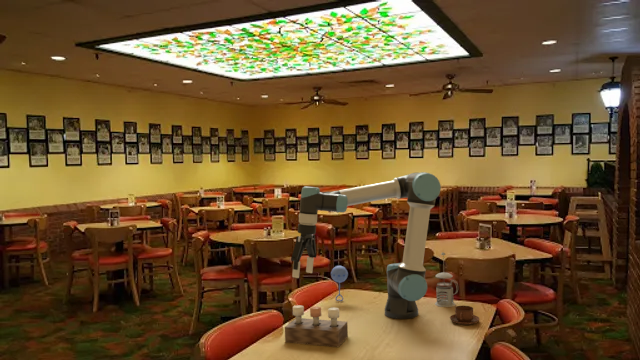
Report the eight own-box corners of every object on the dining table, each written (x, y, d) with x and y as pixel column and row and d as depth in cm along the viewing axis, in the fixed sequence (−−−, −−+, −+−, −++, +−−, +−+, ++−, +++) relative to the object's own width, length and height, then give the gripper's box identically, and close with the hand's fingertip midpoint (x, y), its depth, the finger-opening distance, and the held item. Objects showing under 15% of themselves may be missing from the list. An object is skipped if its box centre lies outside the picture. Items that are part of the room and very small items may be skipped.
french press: (440, 300, 242) (438, 250, 242) (462, 303, 235) (460, 251, 234) (430, 305, 235) (429, 253, 234) (453, 308, 227) (452, 255, 227)
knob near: (341, 325, 192) (340, 307, 192) (337, 329, 188) (337, 311, 188) (330, 324, 194) (330, 307, 194) (327, 328, 190) (326, 310, 190)
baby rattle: (349, 298, 252) (347, 263, 252) (348, 303, 243) (347, 267, 243) (332, 298, 253) (331, 264, 253) (331, 303, 244) (329, 267, 244)
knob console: (347, 336, 196) (347, 321, 196) (338, 347, 184) (337, 331, 184) (297, 332, 203) (296, 317, 203) (285, 342, 192) (284, 327, 192)
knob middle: (323, 324, 195) (322, 306, 195) (319, 327, 191) (318, 309, 191) (313, 323, 197) (312, 306, 196) (309, 326, 192) (308, 309, 192)
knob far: (306, 322, 198) (305, 305, 198) (301, 326, 194) (301, 308, 193) (295, 322, 199) (295, 305, 199) (291, 325, 195) (290, 308, 195)
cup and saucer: (481, 327, 201) (480, 312, 201) (450, 326, 203) (450, 311, 203) (477, 318, 213) (477, 304, 212) (449, 317, 215) (448, 303, 215)
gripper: (311, 221, 215) (306, 269, 216) (285, 224, 192) (280, 278, 193) (326, 223, 213) (322, 272, 213) (303, 226, 190) (298, 281, 190)
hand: (302, 275), depth 203 cm, fingers open, 13 cm apart
